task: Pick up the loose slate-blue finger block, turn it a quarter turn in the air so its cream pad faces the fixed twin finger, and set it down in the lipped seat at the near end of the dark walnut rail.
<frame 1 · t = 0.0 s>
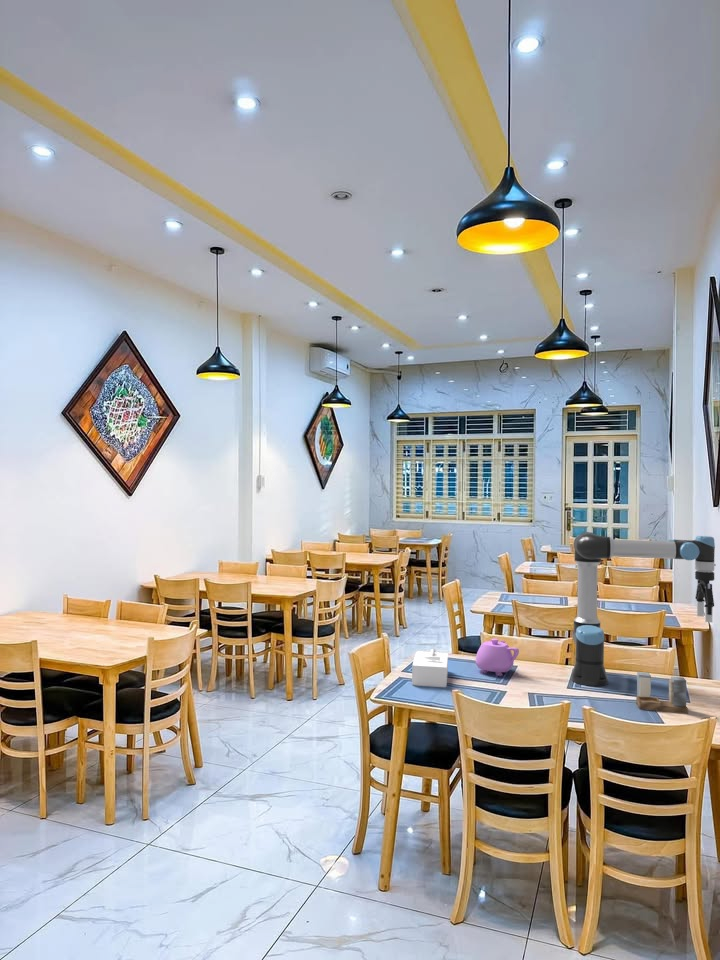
hand: (704, 619, 287), 28 cm above the table, fingers open, 13 cm apart
teapot: (499, 672, 299), on the table
tissue box: (430, 679, 286), on the table
rail: (661, 708, 251), on the table
finger: (643, 698, 262), on the table
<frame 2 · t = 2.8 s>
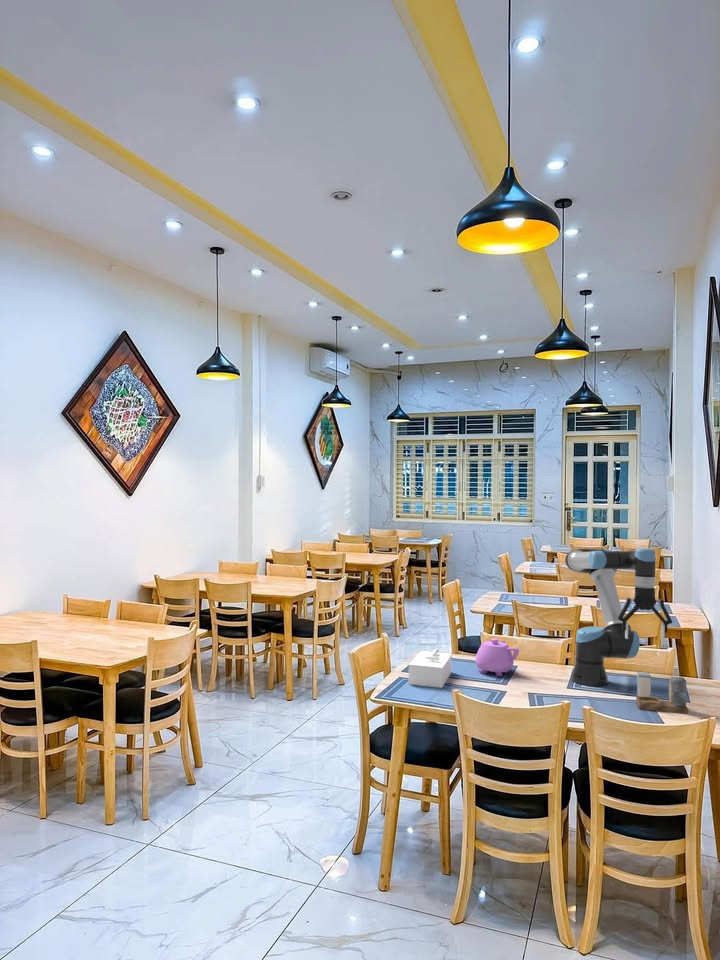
hand: (644, 639, 263), 24 cm above the table, fingers open, 13 cm apart
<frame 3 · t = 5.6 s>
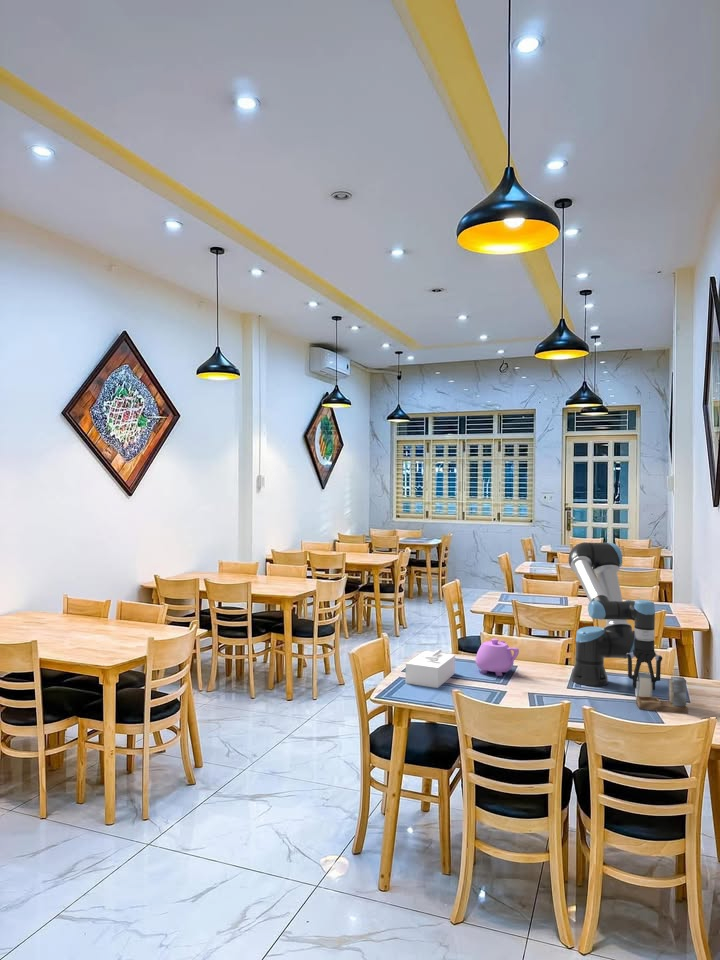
hand: (643, 696, 262), 1 cm above the table, fingers closed on finger, 4 cm apart
finger: (643, 698, 262), on the table, touching gripper
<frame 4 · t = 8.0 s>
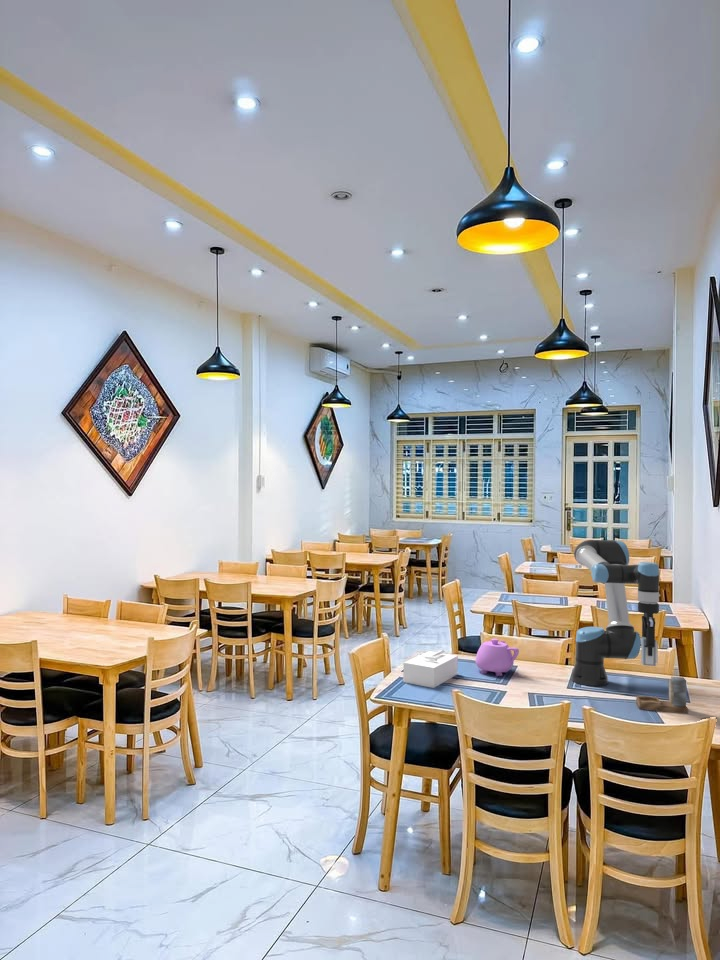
hand: (648, 662, 253), 17 cm above the table, fingers closed on finger, 4 cm apart
finger: (648, 664, 253), point 16 cm above the table, touching gripper
when the fingers open (4 cm above the table, at t = 10.7 s): finger drops 1 cm, resting on rail.
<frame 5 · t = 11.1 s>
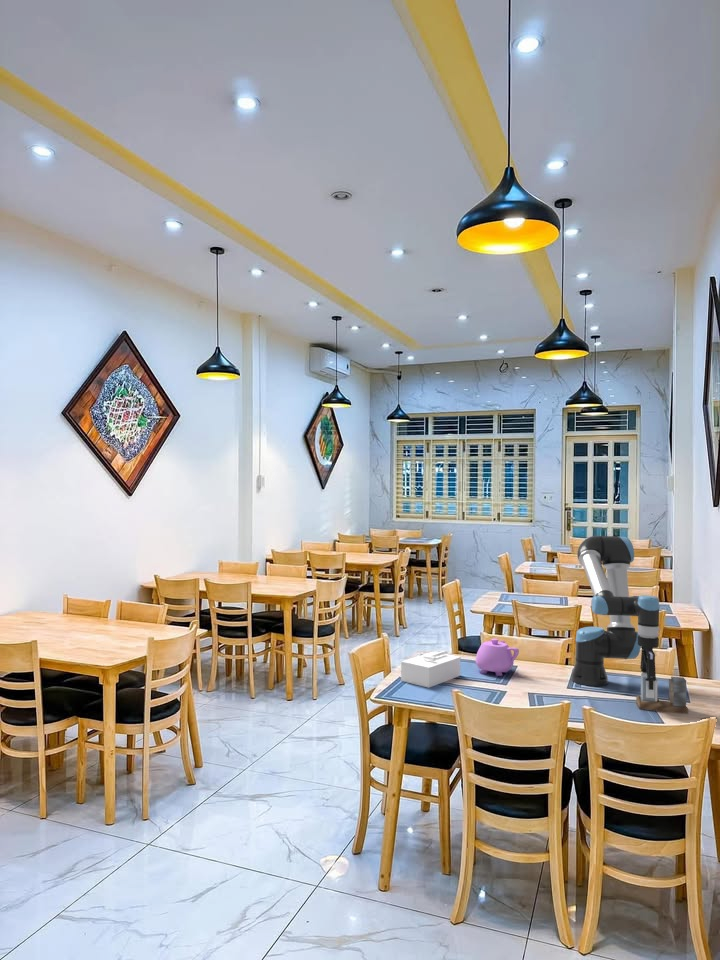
hand: (647, 693, 252), 5 cm above the table, fingers open, 10 cm apart
finger: (647, 701, 252), point 2 cm above the table, touching rail
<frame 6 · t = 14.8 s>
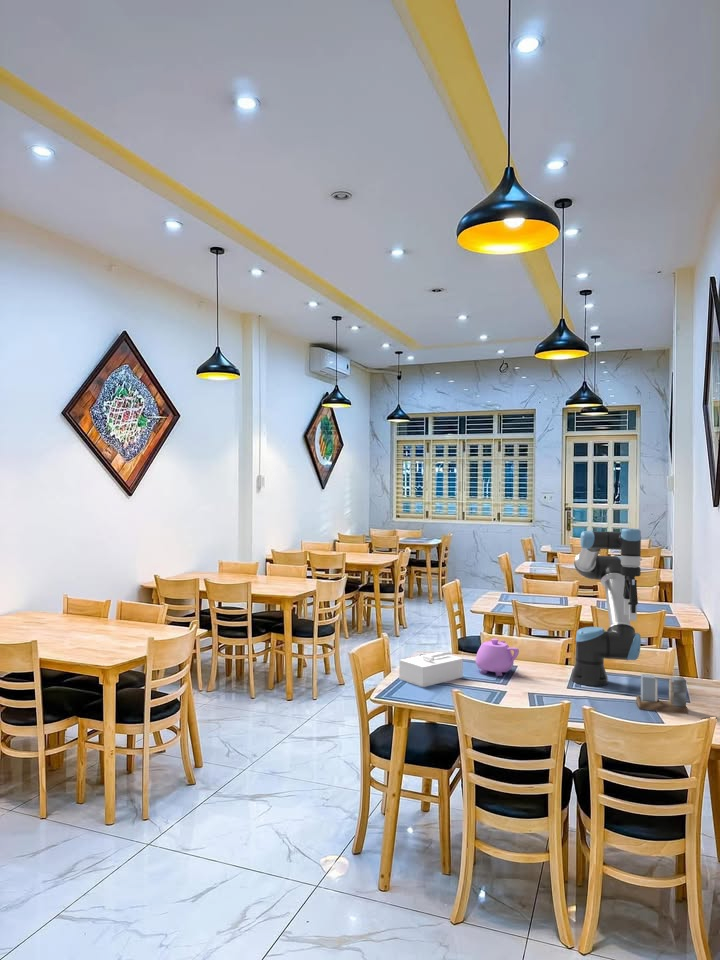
hand: (630, 617, 267), 32 cm above the table, fingers open, 13 cm apart
at the end: finger 0.1 cm from the target spot on the rail, point 2.0 cm above the rail's base; finger tilted 0°; the gripper is holding nothing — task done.
